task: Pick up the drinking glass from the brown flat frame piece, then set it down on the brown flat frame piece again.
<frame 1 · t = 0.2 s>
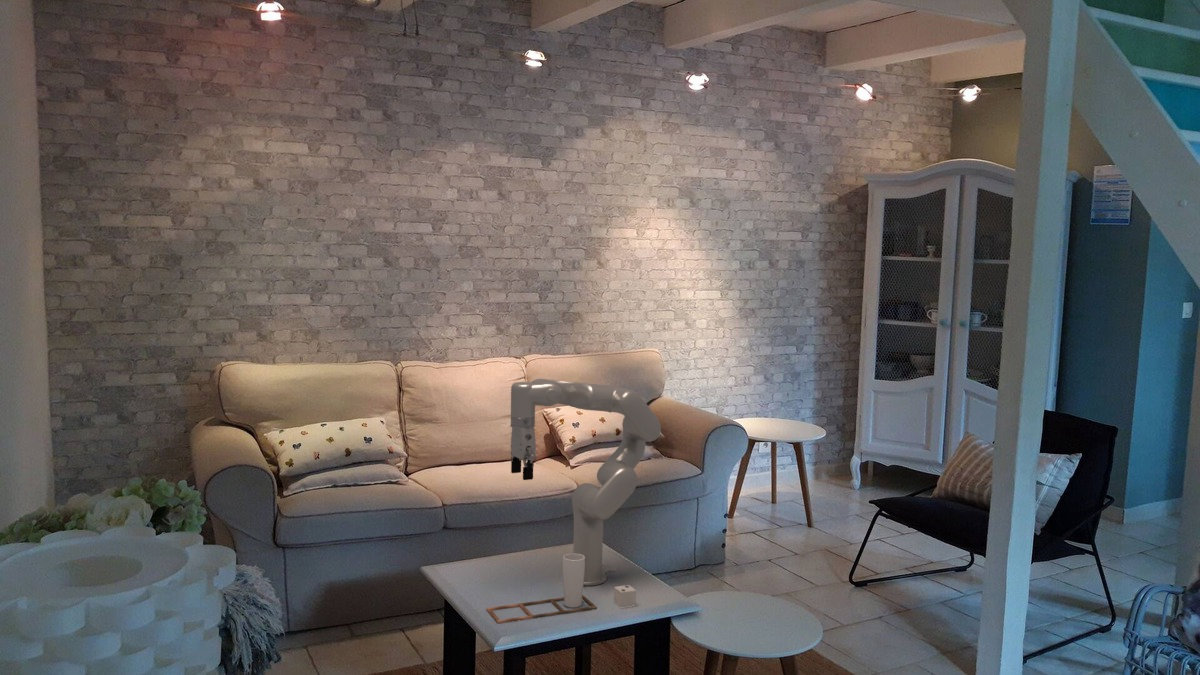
hand: (521, 476, 284), 36 cm above the table, tool pointing down, fingers open, 9 cm apart
brown flat frame piece: (541, 609, 271), on the table
die: (624, 604, 276), on the table
drinking glass: (572, 605, 275), resting in brown flat frame piece
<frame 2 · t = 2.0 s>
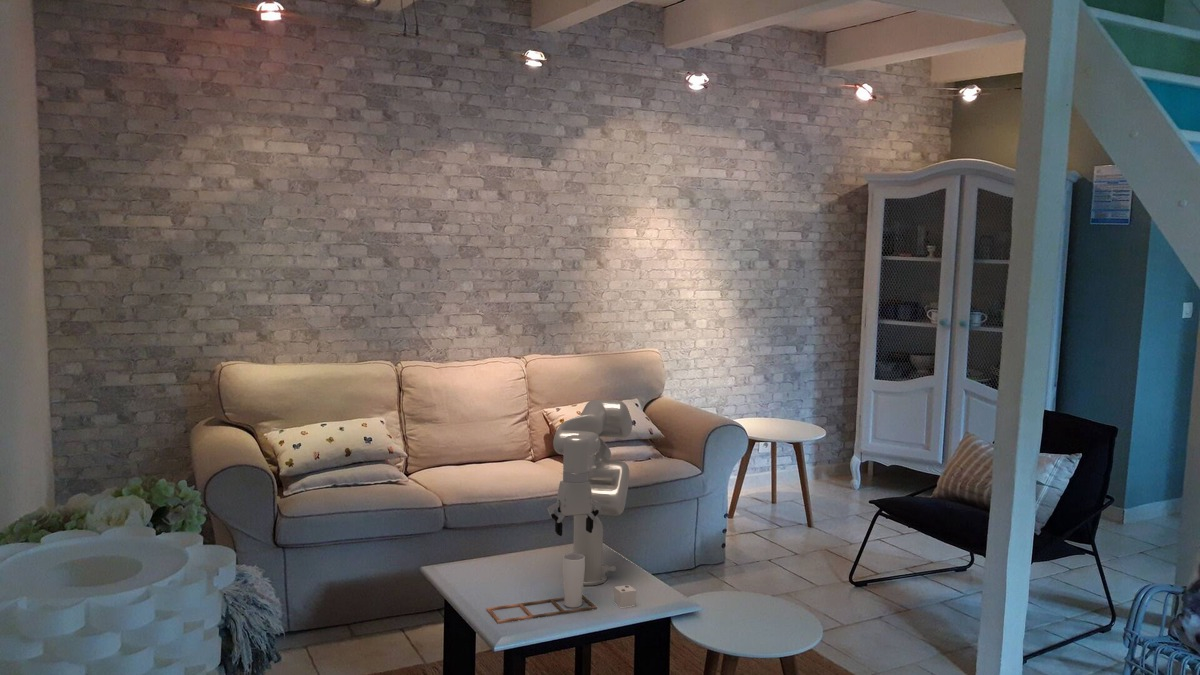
hand: (574, 533, 273), 22 cm above the table, tool pointing down, fingers open, 9 cm apart
nothing on the table moved.
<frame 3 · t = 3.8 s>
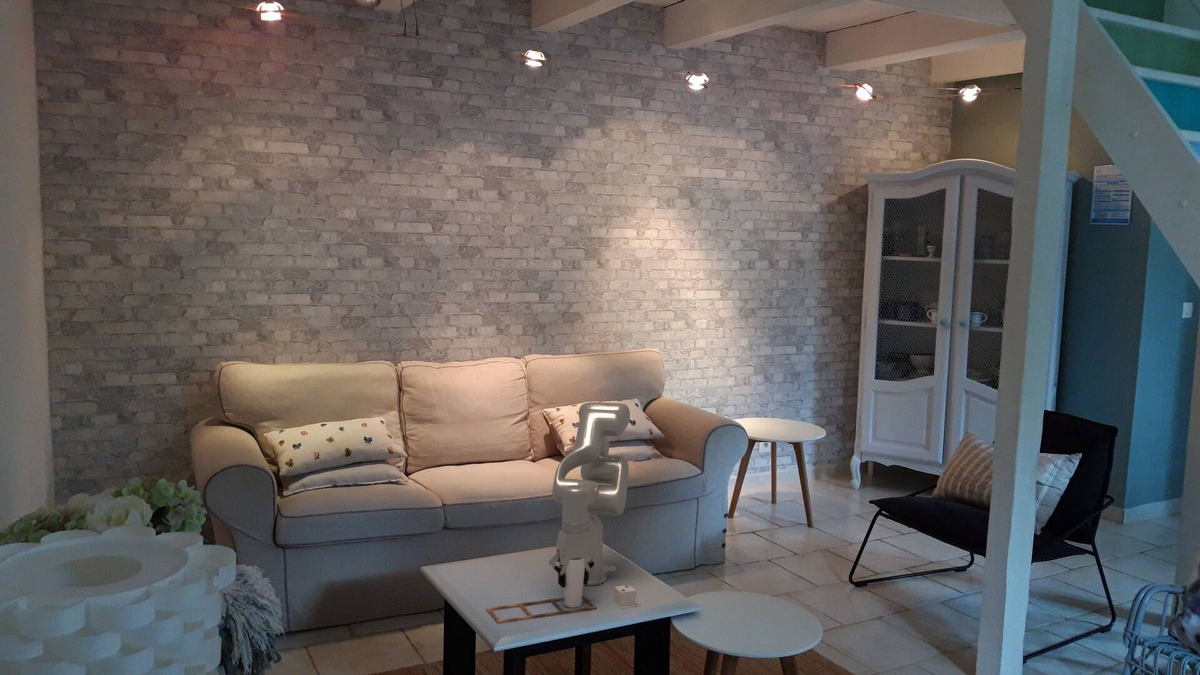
hand: (573, 584, 274), 6 cm above the table, tool pointing down, fingers closed on drinking glass, 6 cm apart
drinking glass: (572, 605, 275), resting in brown flat frame piece, touching gripper
everything else where it was.
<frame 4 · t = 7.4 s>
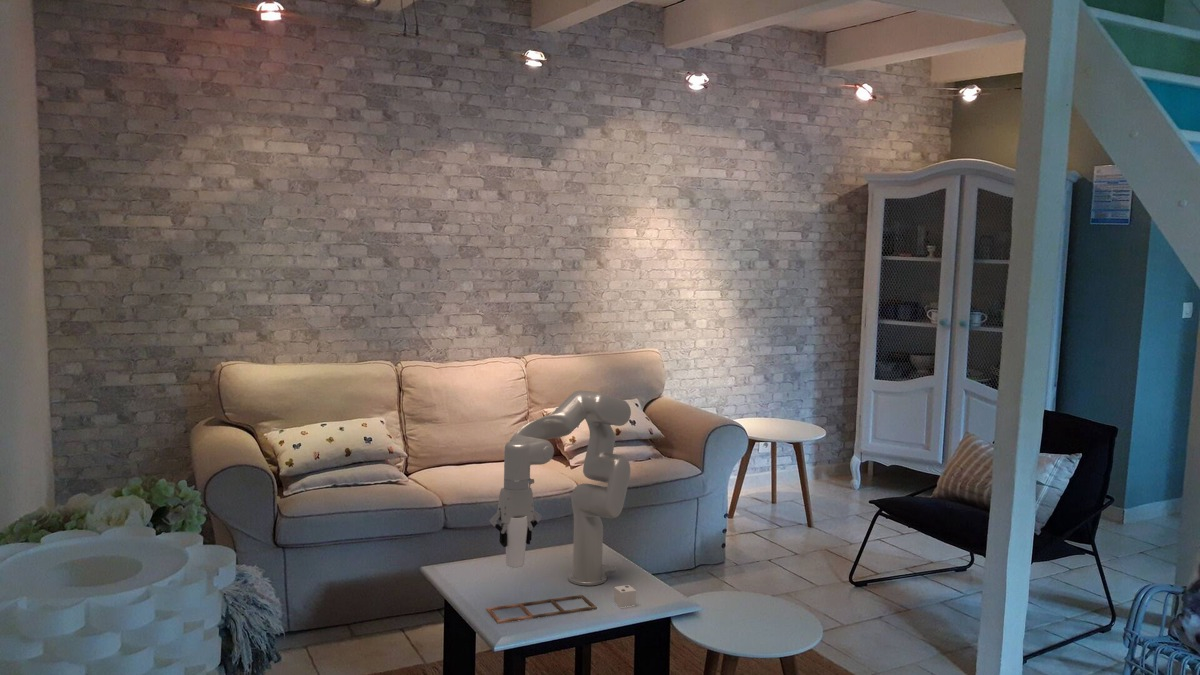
hand: (515, 543, 265), 21 cm above the table, tool pointing down, fingers closed on drinking glass, 6 cm apart
drinking glass: (515, 566, 266), point 14 cm above the table, touching gripper
everything else where it was.
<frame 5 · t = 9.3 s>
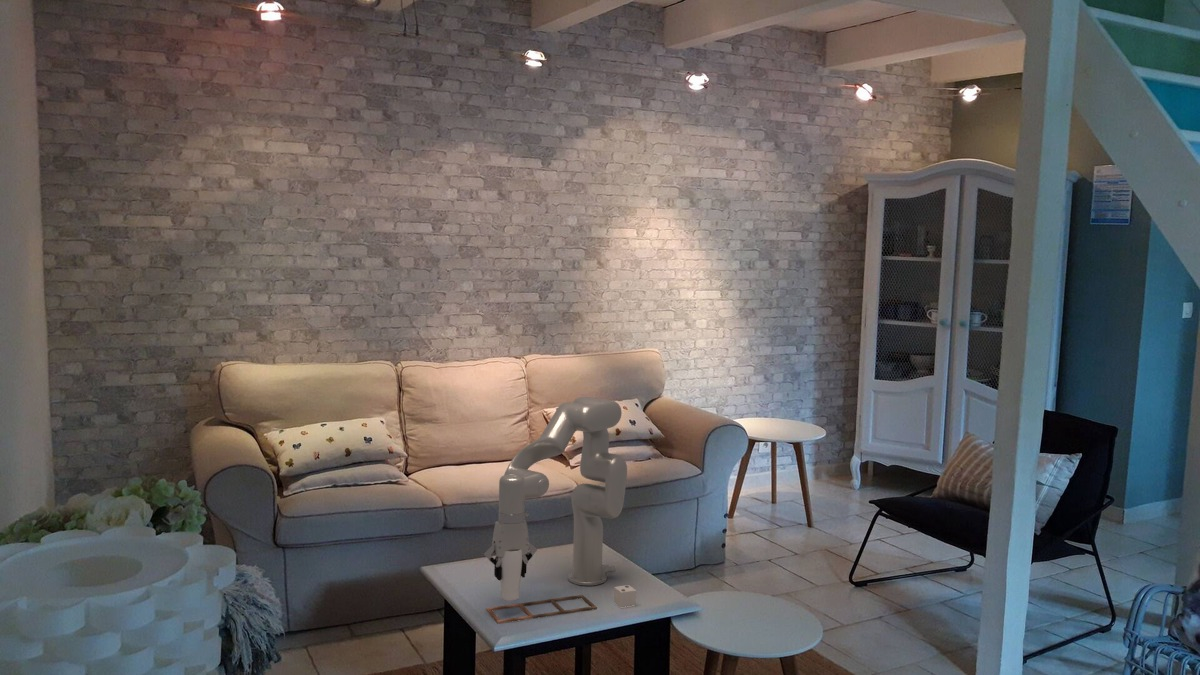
hand: (510, 577, 266), 11 cm above the table, tool pointing down, fingers closed on drinking glass, 6 cm apart
drinking glass: (510, 599, 266), point 5 cm above the table, touching gripper
everything else where it was.
when the fingers open (8 cm above the table, at t = 10.9 s): drinking glass drops 1 cm, resting in brown flat frame piece.
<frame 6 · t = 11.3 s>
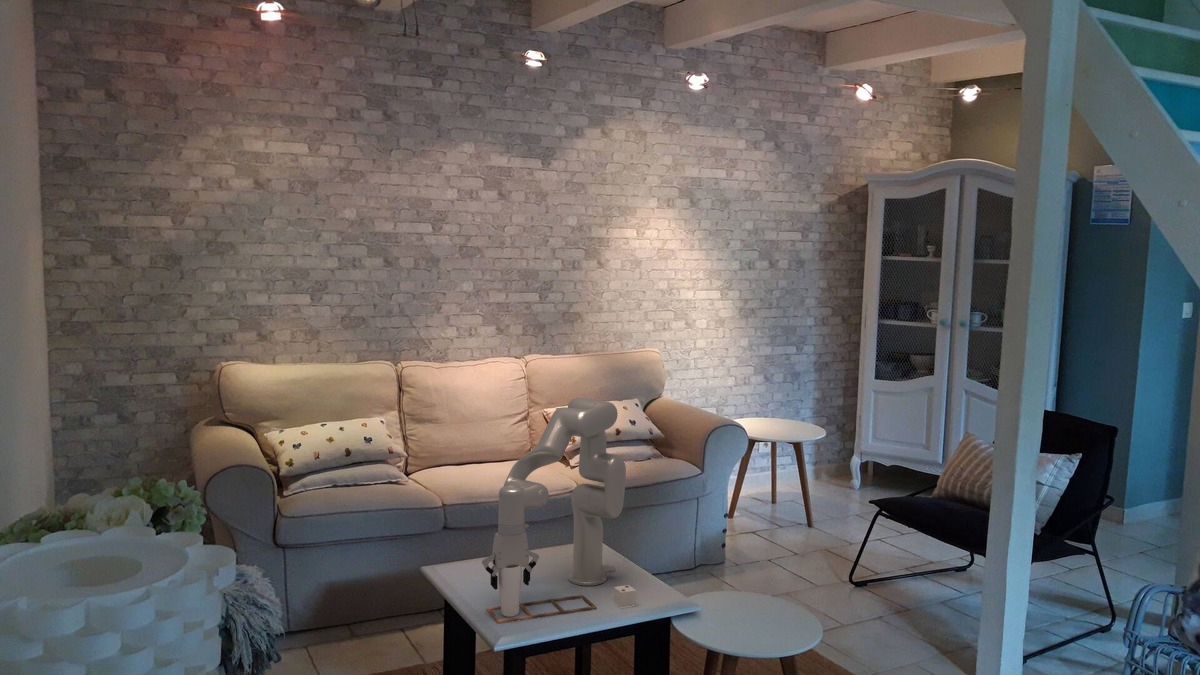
hand: (510, 585, 266), 8 cm above the table, tool pointing down, fingers open, 9 cm apart
drinking glass: (510, 614, 267), resting in brown flat frame piece
everything else where it was.
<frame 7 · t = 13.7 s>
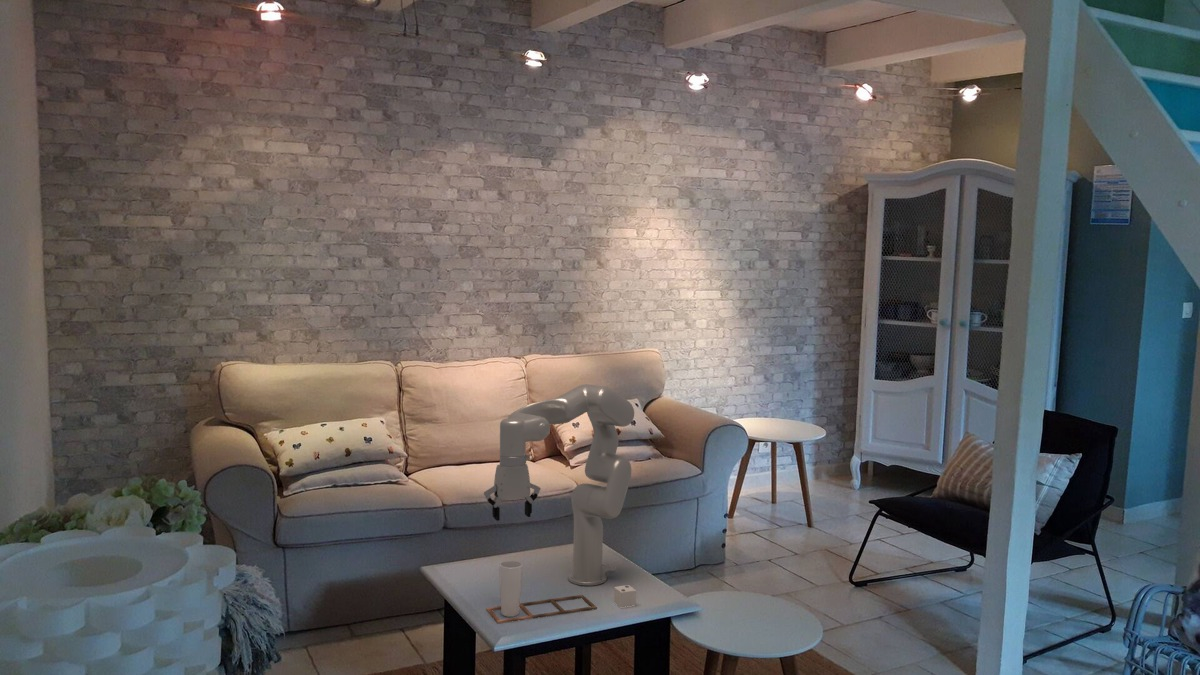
hand: (512, 517, 268), 28 cm above the table, tool pointing down, fingers open, 9 cm apart
nothing on the table moved.
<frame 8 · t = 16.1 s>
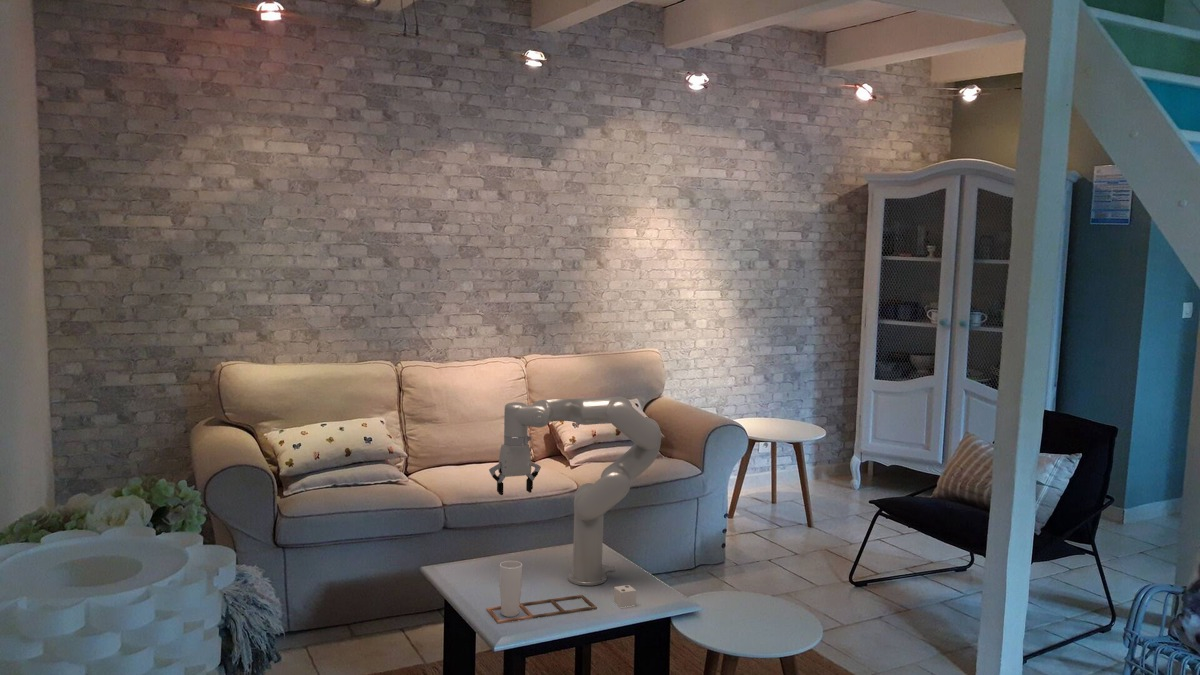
hand: (514, 492, 295), 28 cm above the table, tool pointing down, fingers open, 9 cm apart
nothing on the table moved.
at the end: drinking glass 0.1 cm from the target spot, resting in brown flat frame piece; drinking glass tilted 0°; the gripper is holding nothing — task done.
